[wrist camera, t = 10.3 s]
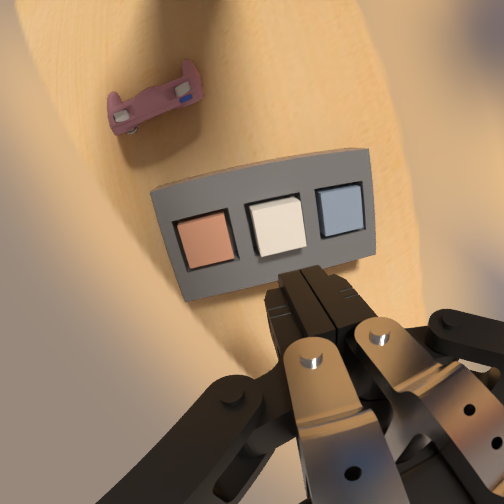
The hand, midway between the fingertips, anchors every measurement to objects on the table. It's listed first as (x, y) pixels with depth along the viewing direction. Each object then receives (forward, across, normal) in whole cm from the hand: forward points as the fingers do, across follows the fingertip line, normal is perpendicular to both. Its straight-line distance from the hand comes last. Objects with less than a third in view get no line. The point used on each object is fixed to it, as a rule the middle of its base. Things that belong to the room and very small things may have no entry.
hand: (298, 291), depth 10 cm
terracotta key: (+19, +5, +3) cm, 19 cm away
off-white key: (+18, -2, +3) cm, 18 cm away
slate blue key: (+19, -9, +3) cm, 21 cm away
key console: (+20, -2, +3) cm, 21 cm away
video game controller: (+21, +7, -12) cm, 25 cm away
